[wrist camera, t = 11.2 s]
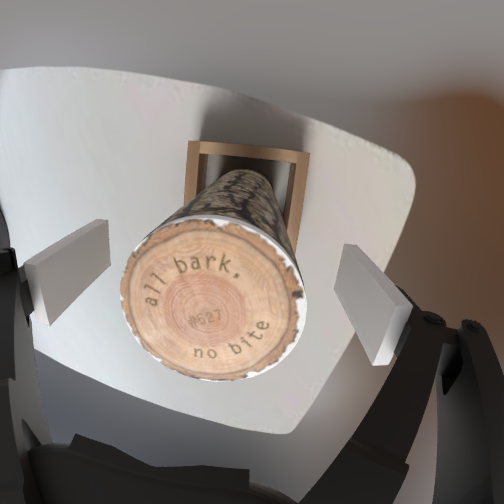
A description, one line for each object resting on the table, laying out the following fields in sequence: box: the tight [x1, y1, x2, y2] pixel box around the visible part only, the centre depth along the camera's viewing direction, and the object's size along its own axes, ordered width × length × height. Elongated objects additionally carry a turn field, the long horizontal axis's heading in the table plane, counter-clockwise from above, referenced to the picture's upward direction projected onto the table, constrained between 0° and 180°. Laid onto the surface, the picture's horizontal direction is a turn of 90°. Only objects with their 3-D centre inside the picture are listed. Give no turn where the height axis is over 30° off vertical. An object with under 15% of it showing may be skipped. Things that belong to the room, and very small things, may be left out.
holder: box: [184, 141, 310, 255], centre depth 31 cm, size 12×12×5 cm
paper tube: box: [120, 168, 307, 382], centre depth 22 cm, size 7×7×25 cm
